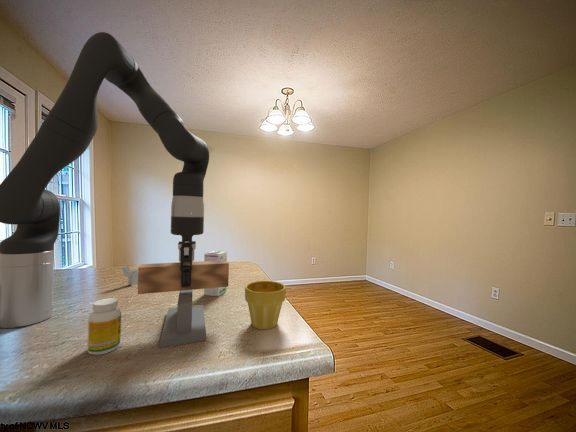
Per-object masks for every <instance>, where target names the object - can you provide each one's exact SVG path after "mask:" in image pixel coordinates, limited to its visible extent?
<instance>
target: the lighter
mask: <svg viewBox="0 0 576 432" xmlns="http://www.w3.org/2000/svg"><path fill="white" fill-rule="evenodd" d="M120 268H121V271H122V273H123V275H124V277H127V281H128V282H127V286H128V285H131V286H130V287H133V286H136V285H138V269H134V270H131V269H130V267H129V265H127V264H126V265H125V264H124V265H122V266H121V267H120ZM135 284H136V285H135ZM132 285H133V286H132Z"/></svg>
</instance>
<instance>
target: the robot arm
mask: <svg viewBox="0 0 576 432" xmlns="http://www.w3.org/2000/svg"><path fill="white" fill-rule="evenodd" d="M104 79H105V80H106V81H107V82H109V83H111V84H112V85H114V86H115V87H117V88H118V89H119V90H121V91H122V92H123V93H124V94H126V95H127V97H129V98H130V99H131V100H132V101H133V102H134V104H135V105H136V107H137V109H138V111H139V113H140V115H141V116H142V117H143V119H144V120H145V121H146V122H147V124H148V125H149V126H150V127H151V128H152V129H153V130H154V132H155V133H156V134H157V135H158V137H159V139H160V141H161V143H162V145H163V146H164V149H165V150H166V151H167V153H168V154H170V155H171V156H172V157H173V158H174V159H176V160H178V161H181V162H183V166H182V170H181V171H180V172H176V173H175V174H174V176H173V178H172V179H173V180H172V197H171V198H172V199H171V200H172V201H171V205H170V207H171V208H170V234H171V235H174V236H180V237H181V241H178V243H177V249H178V262H180V271H181V287H182V288H184V287H190V286H191V271H192V269H193V266H192V262H195V250H196V248H197V247H196V246H197V245H196V244H197V242H196V240H193V237H194V236H200V235H203V233H204V229H205V226H204V225H205V223H204V221H205V203H204V181H205V177H206V175H207V170H208V166H209V162H210V150H209V146H208V145H207V143H206V142H205V141H204V140H203V139H202V138H200V137H198V136H197V135H195V134H193V133H192V132H190V131H189V130H188V129H187V128H186V126H185V124H184V121H183V119H182V118H181V117H180V115H179V114H178V113H177V112H176V111H175V109H173V107H172V106H171V105H170V104H169V103H168V102H167V101H166V100H165V99H164V98H163V97H162V96H161V94H159V92H157V91H156V90H155V89H154V88H153V87H152V85H151V83H149V81H148V79H147V78H146V77H145V75H144V73H143V71H142V69H141V68H140V66H139V65H138V63H137V60H136V59H135V58H134V57H133V56H132V55H131V53H129V52H128V50H127V49H126V48H125V47H124V46H123V45H122V44H121V43H120V42H119V41H118V39H116V38H115V37H114V36H113V35H112V34H110V33H108V32H105V31H100V32H96V33H94V34H92V35H91V36H90V37H89V38H88V39H87V40H86V41H85V43H84V44H83V46H82V48H81V50H80V52H79V55H78V57H77V59H76V62H75V64H74V67H73V68H72V71H71V74H70V75H69V78H68V80H67V82H66V84H65V85H64V87H63V89H62V91H61V93H60V95H59V96H58V98H57V100H56V102H55V103H54V104H53V106H52V108H51V109H50V110H49V111H48V114H46V117H45V118H44V120H43V122H42V123H41V125H40V127H39V129H38V131H37V132H36V134H35V136H34V138H33V139H32V140H31V142H30V143H29V145H28V147H27V148H26V149H25V151H24V153H23V155H22V156H21V157H20V159H19V160H18V162H17V164H16V165H15V166H14V167H13V168H12V170H11V171H10V172H9V173H8V175H6V177H5V178H4V179H3V180H2V182H1V183H0V223H1V224H5V225H16V229H15V231H14V232H13V233H11V235H10V236H8V237H6V238H5V239H3V240H1V241H0V328H1V329H2V328H3V329H13V328H20V327H25V326H30V325H34V324H37V323H40V322H43V321H46V320H47V319H49V318H51V317H52V316H53V309H54V308H53V306H54V305H53V302H54V301H53V300H54V299H53V297H54V294H53V292H54V253H55V252H54V248H55V243H56V242H57V239H58V238H59V232H60V230H59V229H60V219H61V204H60V201H59V198H58V197H57V195H56V194H55V193H54V192H52V191H50V190H48V189H47V187H48V185H49V184H50V182H51V181H52V180H53V178H54V177H55V176H56V175H57V174H58V173H59V172H60V171H62V170H63V169H64V168H66V167H67V166H69V165H70V164H72V163H74V162H75V161H76V160H78V159H79V158H80V157H81V156H82V155H83V154H84V153H85V152H86V151H87V149H88V147H89V145H90V144H91V143H92V141H93V139H94V137H95V136H96V133H97V131H98V125H99V123H98V105H97V104H98V103H97V101H98V100H97V99H98V94H99V91H100V88H101V85H102V84H103V81H104ZM183 262H190V265H183Z"/></svg>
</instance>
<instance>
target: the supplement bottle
mask: <svg viewBox="0 0 576 432" xmlns="http://www.w3.org/2000/svg"><path fill="white" fill-rule="evenodd" d="M118 305H119V300H118V298H116V297H115V298H114V297H109V298H103V299H98V300H96V301H94V302H93V304H92V310H93V312H91V313H90V314H89V316H88V318H87V319H88V320H87V322H88V323H87V324H88V325H87V353H88V354H89V355H95V356H99V355H104V354H108V353H111V352H112V351H115V350H116V349H118V348H119V346H120V345H121V335H122V334H121V333H122V311H121V309H120V308H118Z"/></svg>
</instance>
